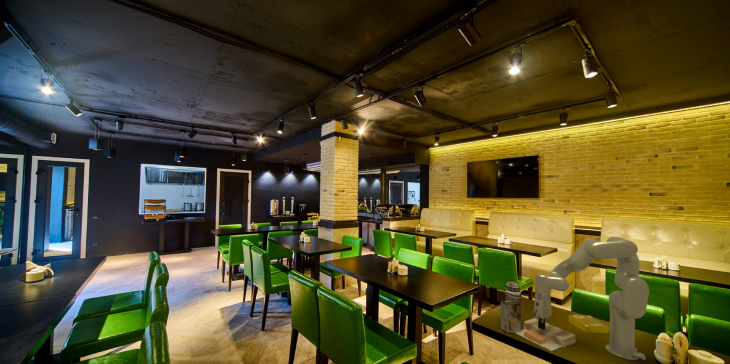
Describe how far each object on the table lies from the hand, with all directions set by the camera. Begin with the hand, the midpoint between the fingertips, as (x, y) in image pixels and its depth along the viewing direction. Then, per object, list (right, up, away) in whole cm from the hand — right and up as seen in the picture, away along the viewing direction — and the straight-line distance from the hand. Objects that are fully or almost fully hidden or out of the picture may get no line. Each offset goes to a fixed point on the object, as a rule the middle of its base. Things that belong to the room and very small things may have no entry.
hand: (541, 328), depth 156 cm
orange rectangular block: (-5, -2, -2) cm, 6 cm away
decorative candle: (-8, -6, +16) cm, 19 cm away
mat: (-4, -5, -2) cm, 7 cm away
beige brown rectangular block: (+6, -6, +3) cm, 9 cm away
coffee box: (-13, -5, +7) cm, 16 cm away
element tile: (+39, -8, +16) cm, 43 cm away
